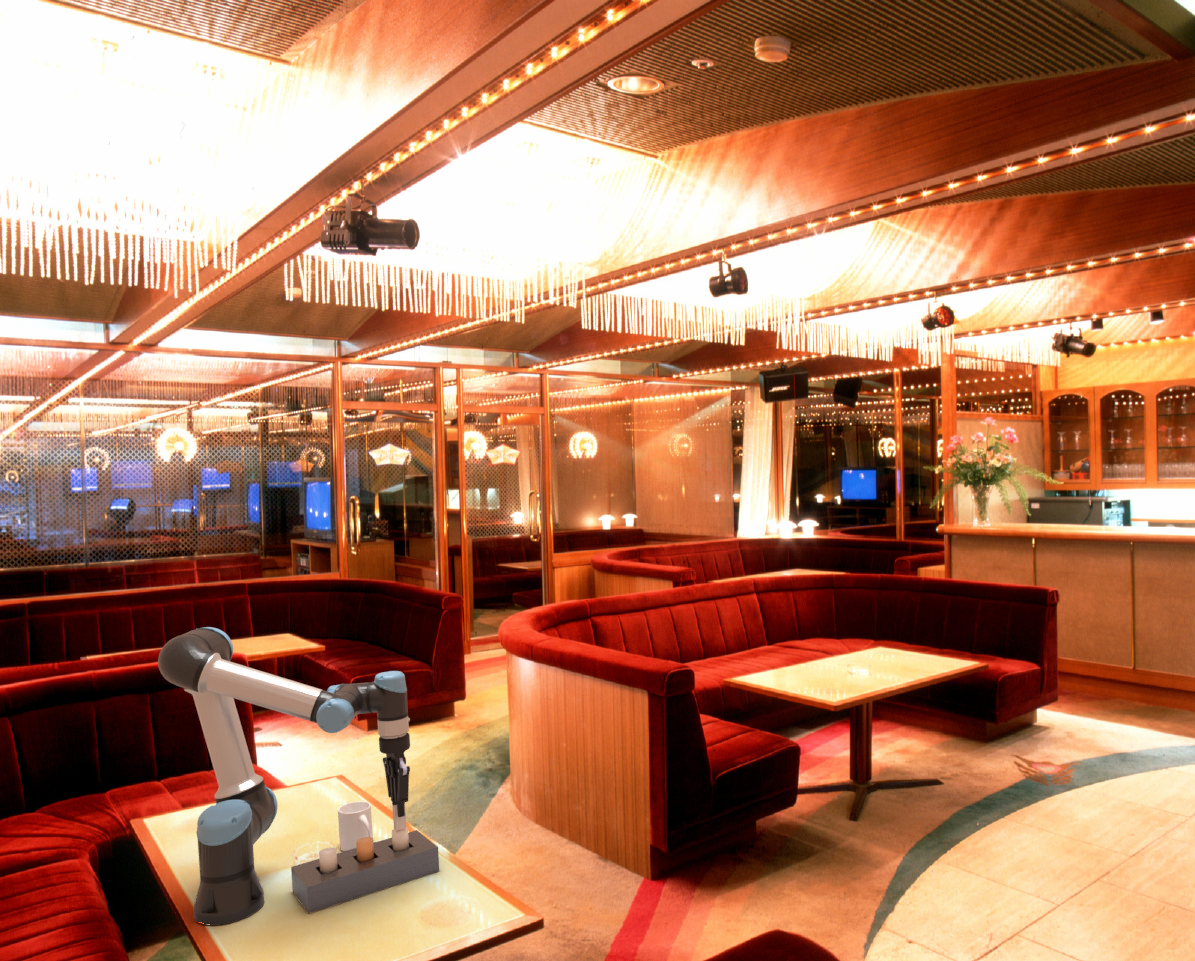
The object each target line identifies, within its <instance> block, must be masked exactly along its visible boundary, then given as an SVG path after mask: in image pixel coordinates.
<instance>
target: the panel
mask: <svg viewBox="0 0 1195 961" xmlns="http://www.w3.org/2000/svg"><path fill="white" fill-rule="evenodd" d="M408 837H409V848H408V849H404V850H401V851H398V852H394V851H393V844H392V837H388V838H385V839H381V840H379V841H375V842H373V846H374V859H371V860H368V861H365V862H361V863H358V862H357V848H354V849H351V850H347V851H341V852H338V853H337V867H338V870H335V871H332V872H328V873H325V874H322V875H321V874H320V862H319V858H317V859H313V860H310V861H306V862H303V863H300V864H297V865H293V866H291V867H290V870H291V871H290V872H291V888H292V893H293V895H294V896H295V897H296V899H297V900H298V901H299V903H300V904H301V906H302V907H303V908H304V910H305V911H306V913H307V914H308V915H309V914H312V913H315V912H319V911H322V910H325V909H327V908H331V907H334V906H337V905H340V904H344V903H347V902H350V901H351V900H355V899H359V898H362V897H365V896H367V895H370V894H374V893H376V892H380V891H383V890H387V889H389V888H392V887H396V886H398V885H401V884H404V883H407V882H410V881H414V880H416V879H420V878H422V877H425V876H426V877H427V876H429V875H432V874H435V873H439V872H440V856H439V846H437V845H436V844H435V843H434V842H432V841H431V840H430V839H429V838H427V837H426V836H425V835H424V834H422V833H421V832H420V831H419V830H413V831H408Z"/></svg>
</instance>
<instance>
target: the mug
mask: <svg viewBox="0 0 1195 961" xmlns="http://www.w3.org/2000/svg"><path fill="white" fill-rule="evenodd" d="M337 818H338V819H337V821H338V833H339V835H338V836H339V848H340V849H341V852H344V851H347V850H351V849H354V848H357V846H356V841H357V840H358V839H361V838H364V837H371V838H373V839H374V837H373V835H374V834H373V820H372V818H373V817H372V804H371V802H368V801H365V800H364V801H363V800H362V801H360V800H359V801H351V802H348V803H346V804H345V803H344V804H343V805H341V806H339V807H338V808H337Z"/></svg>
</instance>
